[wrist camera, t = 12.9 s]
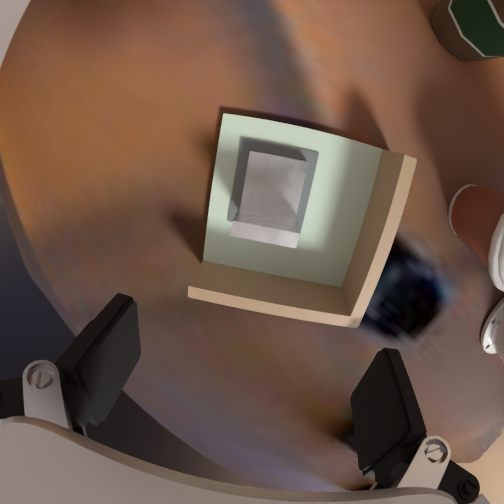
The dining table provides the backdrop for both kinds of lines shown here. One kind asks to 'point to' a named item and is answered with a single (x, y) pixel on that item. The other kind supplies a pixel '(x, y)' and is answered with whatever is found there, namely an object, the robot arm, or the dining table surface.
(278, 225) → the bracket
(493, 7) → the beer bottle
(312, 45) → the dining table surface
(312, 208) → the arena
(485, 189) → the coffee cup
